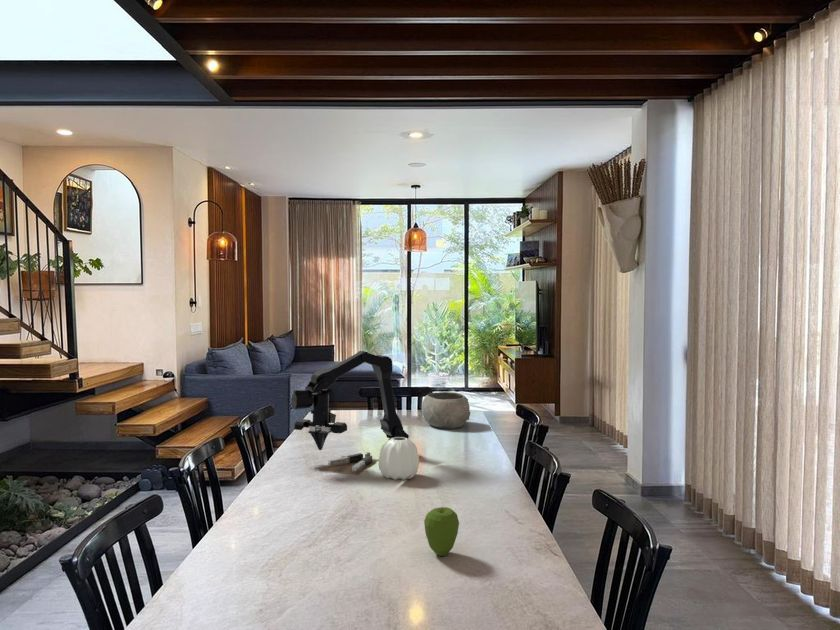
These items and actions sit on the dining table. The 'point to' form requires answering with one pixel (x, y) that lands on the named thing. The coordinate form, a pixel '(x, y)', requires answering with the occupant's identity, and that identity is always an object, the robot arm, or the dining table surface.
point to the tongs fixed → (362, 463)
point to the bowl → (446, 409)
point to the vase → (399, 459)
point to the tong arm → (345, 460)
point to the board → (347, 467)
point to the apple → (441, 529)
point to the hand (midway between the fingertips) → (320, 449)
